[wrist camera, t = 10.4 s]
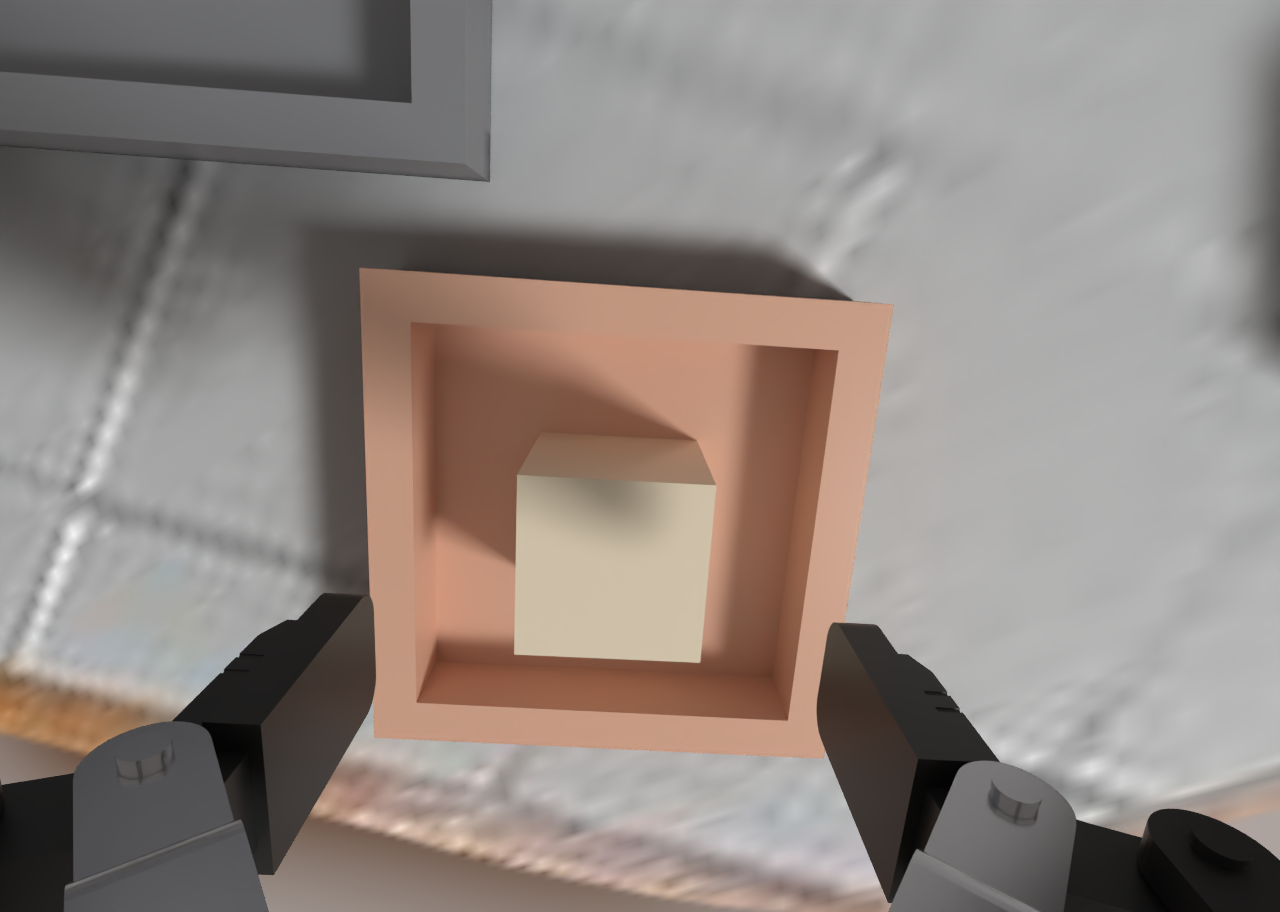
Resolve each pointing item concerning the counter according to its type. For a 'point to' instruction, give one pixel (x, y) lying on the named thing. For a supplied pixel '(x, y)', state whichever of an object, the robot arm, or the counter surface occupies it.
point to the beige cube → (612, 548)
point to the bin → (254, 82)
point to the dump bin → (613, 406)
